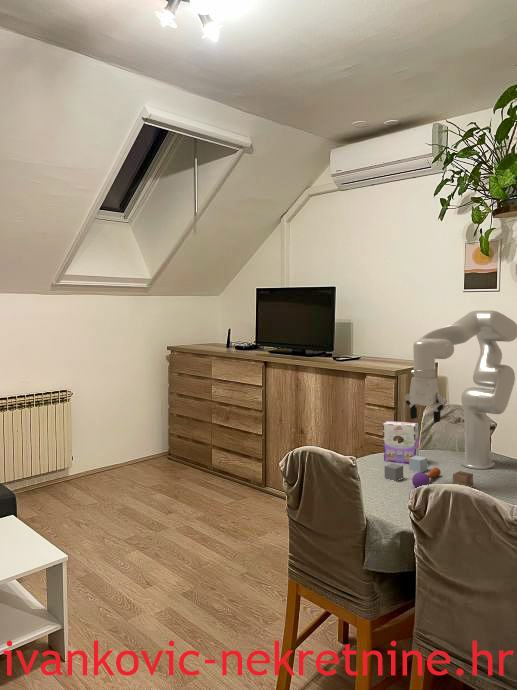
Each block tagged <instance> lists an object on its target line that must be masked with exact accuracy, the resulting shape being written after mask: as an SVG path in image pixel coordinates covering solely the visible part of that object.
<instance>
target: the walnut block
mask: <svg viewBox="0 0 517 690" xmlns="http://www.w3.org/2000/svg"><path fill="white" fill-rule="evenodd" d="M453 484H459V485H465V486H469V487H471V486H473V487H474V473H471V472H466V471H462V470H459V471H457V472H454V473H453V474H452V485H453Z"/></svg>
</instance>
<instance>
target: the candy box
mask: <svg viewBox="0 0 517 690" xmlns="http://www.w3.org/2000/svg"><path fill="white" fill-rule="evenodd" d="M382 439H383V462H389V461H391V463H399V462H401V463H400V464H409V458H411V457H414V456H420V443H419V441H420V440H419V439H420V438H419V422H406V421H391V420H389V421H388V420H387V421H385V422H384V423H382Z"/></svg>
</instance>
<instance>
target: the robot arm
mask: <svg viewBox="0 0 517 690" xmlns="http://www.w3.org/2000/svg"><path fill="white" fill-rule="evenodd" d="M475 336H476V338H477V341H478V344H479V348H480V349H479V350H480V352H479V357H478V360H477V362H476V364H475V368H474V371H473V375H472V381H473V383H474V384H475V385H477V386H479V387H475V386H473V387H468V388H465V389H464V391H463V392H462V394H461V396H460V397H461V405H462V408H463V409H462V411H463V419H464V420H463V421H464V423H463V424H464V458H463V459H461V461H460V463H461V466H463V467H466V468H469V469H475V470H487V469H488V470H489V469H492V468H493V467H495V462H494V461H493V460H491V457H492V456H494V452H493V451H491V430H490V429H491V425H490V424H491V423H490V419H489V417H488V415H487V414H491V415H501V414H503V413H504V412H505V411H506V409H507V407H508V404H509V401H510V399H511V396H512V392H513V389H514V386H515V381H516V374H515V370H514V369H513V367H511V366H510V365H506V364H501V362H502V358H503V353H502V350H501V348H500V346H499V344H498V343H497V342H505V343H506V342H507V343H509V342H513V341H515V340H516V339H517V323H516V322H515V321H514V320H513V319H511V317H508V316H507V315H505V314H503V313H501V312H499V311H497V310H472V311H469V312H468V313H467V314H465V315H464V316H463V317H461V318H459V319H458V320H456V321H455V322H454V323H452V324H449V325H445V326H443V327H440V328H437V329H434V330H432V331H430V332H428V333H426V334H424V335H423V336H422V337H420V338H419V339H418V340H416V341H414V343H413V351H412V352H413V369H411V373H410V374H413V376H412V377H411V380H410V387H409V392H408V393H407V394H405V395H404V396H403V398H404V400H405V403H406V404H407V406H408V408H409V414H410V419H411V420H413V419H414V420H415V419H417V418H418V408H417V407H416V406H422V407H423V406H424V407H431V408H432V409H433V410H434V411H433V423H435V424H436V423H439V422H441V411H443V409H444V408H445V407H446V405H447V402H448V400H447V399H446V398H444V397H443V396H442V395H441V394H440V389H439V383H438V379H437V378H436V360H447V359H449V358H451V357H452V356H453V354H454V352H455V346H456V345H457V346H458V345H462V344H464V343H467V342H468V341H469V340H471V339H472V338H473V337H475ZM485 387H486V388H485ZM439 403H440V404H439Z"/></svg>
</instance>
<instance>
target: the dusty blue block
mask: <svg viewBox="0 0 517 690" xmlns="http://www.w3.org/2000/svg"><path fill="white" fill-rule="evenodd" d="M408 464H409V465H408V467H409V469H408V470H409V471H410V470H413V471H412V472H415V471H417V472H416V473H419V472H421V473H424V472H426V471H428V457H424V456H421V455H419V456H414V457H411V458H409V463H408ZM425 470H426V471H425Z"/></svg>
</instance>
